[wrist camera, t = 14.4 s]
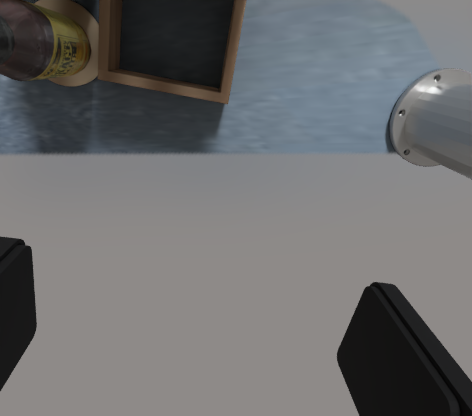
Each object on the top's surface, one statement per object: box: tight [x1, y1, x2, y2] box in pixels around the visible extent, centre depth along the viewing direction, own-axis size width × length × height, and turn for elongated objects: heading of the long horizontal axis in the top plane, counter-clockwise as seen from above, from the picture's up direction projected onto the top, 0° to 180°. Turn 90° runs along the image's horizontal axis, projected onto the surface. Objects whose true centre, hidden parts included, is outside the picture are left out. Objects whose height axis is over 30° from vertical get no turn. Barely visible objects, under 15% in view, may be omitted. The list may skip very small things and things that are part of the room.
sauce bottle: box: [0, 0, 92, 81], centre depth 29 cm, size 7×6×20 cm
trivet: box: [34, 0, 99, 86], centre depth 38 cm, size 9×9×1 cm
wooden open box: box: [98, 0, 246, 104], centre depth 35 cm, size 14×12×7 cm
